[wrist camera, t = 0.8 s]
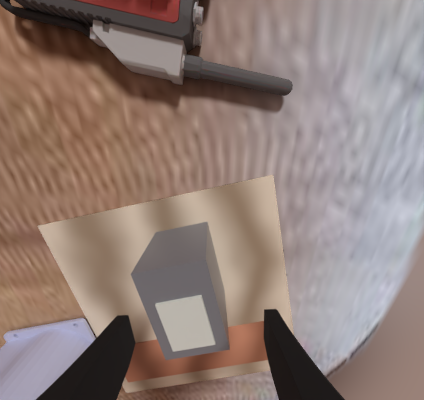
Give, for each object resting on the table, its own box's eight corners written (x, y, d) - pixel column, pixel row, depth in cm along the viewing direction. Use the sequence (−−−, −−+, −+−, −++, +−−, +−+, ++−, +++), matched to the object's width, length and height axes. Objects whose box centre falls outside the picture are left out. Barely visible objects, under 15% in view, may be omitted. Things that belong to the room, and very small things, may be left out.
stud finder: (178, 298, 21) (165, 363, 15) (155, 232, 18) (129, 276, 12) (224, 290, 20) (230, 352, 14) (207, 221, 18) (205, 261, 12)
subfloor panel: (126, 392, 25) (125, 393, 25) (38, 225, 18) (36, 226, 18) (297, 365, 24) (298, 366, 24) (272, 174, 17) (273, 175, 17)
